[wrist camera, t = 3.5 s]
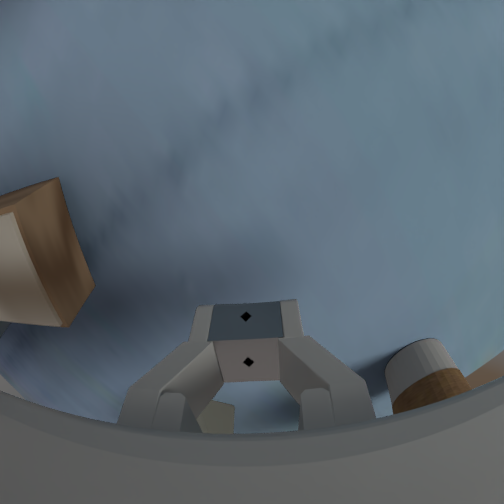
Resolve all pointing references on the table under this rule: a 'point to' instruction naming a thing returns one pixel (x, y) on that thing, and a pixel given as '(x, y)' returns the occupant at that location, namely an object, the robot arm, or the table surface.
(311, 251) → the table surface
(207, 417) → the digital clock
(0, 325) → the bay
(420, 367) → the coffee cup
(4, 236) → the tan block
